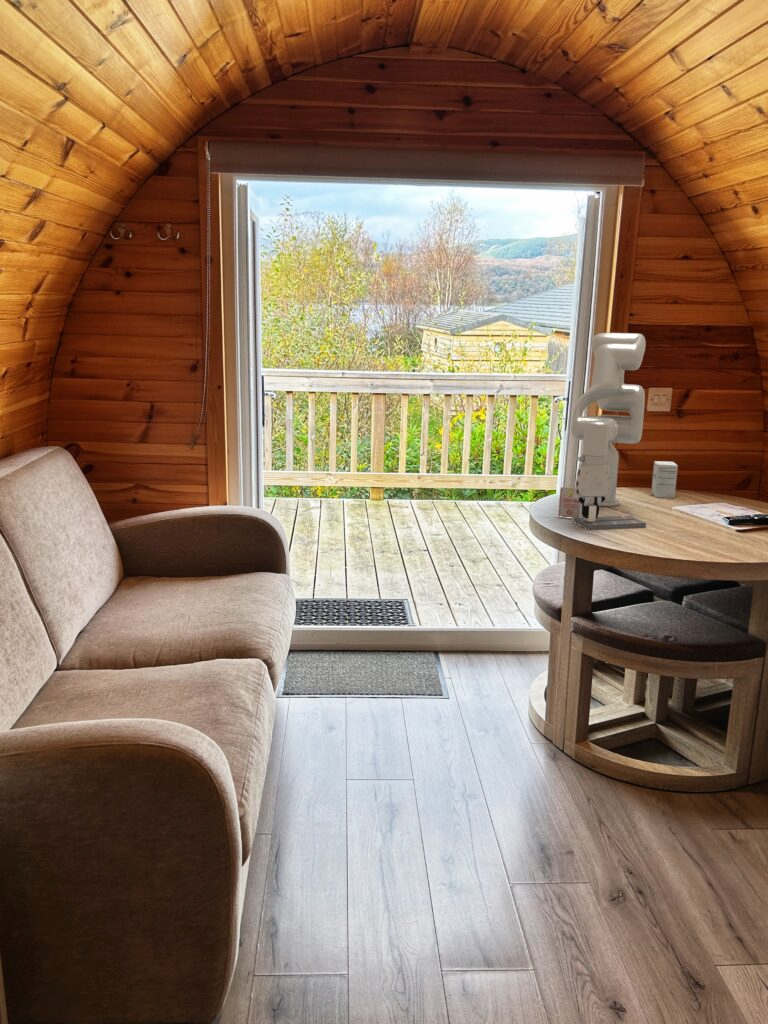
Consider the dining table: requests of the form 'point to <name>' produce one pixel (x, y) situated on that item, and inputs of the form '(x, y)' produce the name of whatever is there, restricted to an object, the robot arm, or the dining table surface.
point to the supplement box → (664, 479)
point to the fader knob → (591, 513)
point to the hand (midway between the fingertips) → (589, 516)
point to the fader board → (611, 522)
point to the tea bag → (568, 503)
